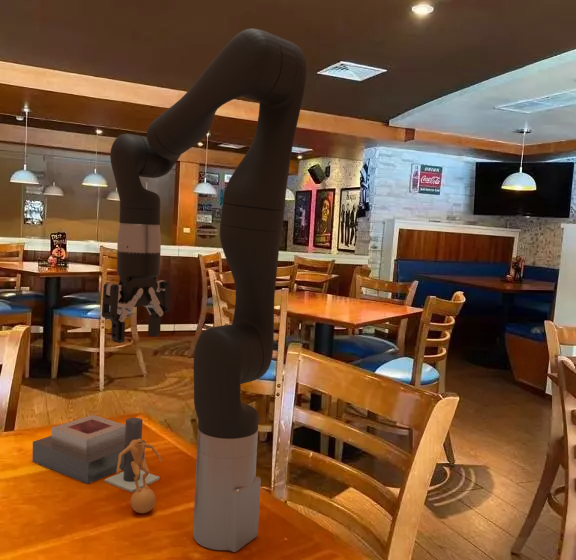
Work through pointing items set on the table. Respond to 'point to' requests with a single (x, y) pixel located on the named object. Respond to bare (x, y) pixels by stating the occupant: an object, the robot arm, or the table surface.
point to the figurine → (142, 496)
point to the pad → (130, 486)
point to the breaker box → (83, 448)
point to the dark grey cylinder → (131, 433)
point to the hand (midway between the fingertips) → (136, 339)
